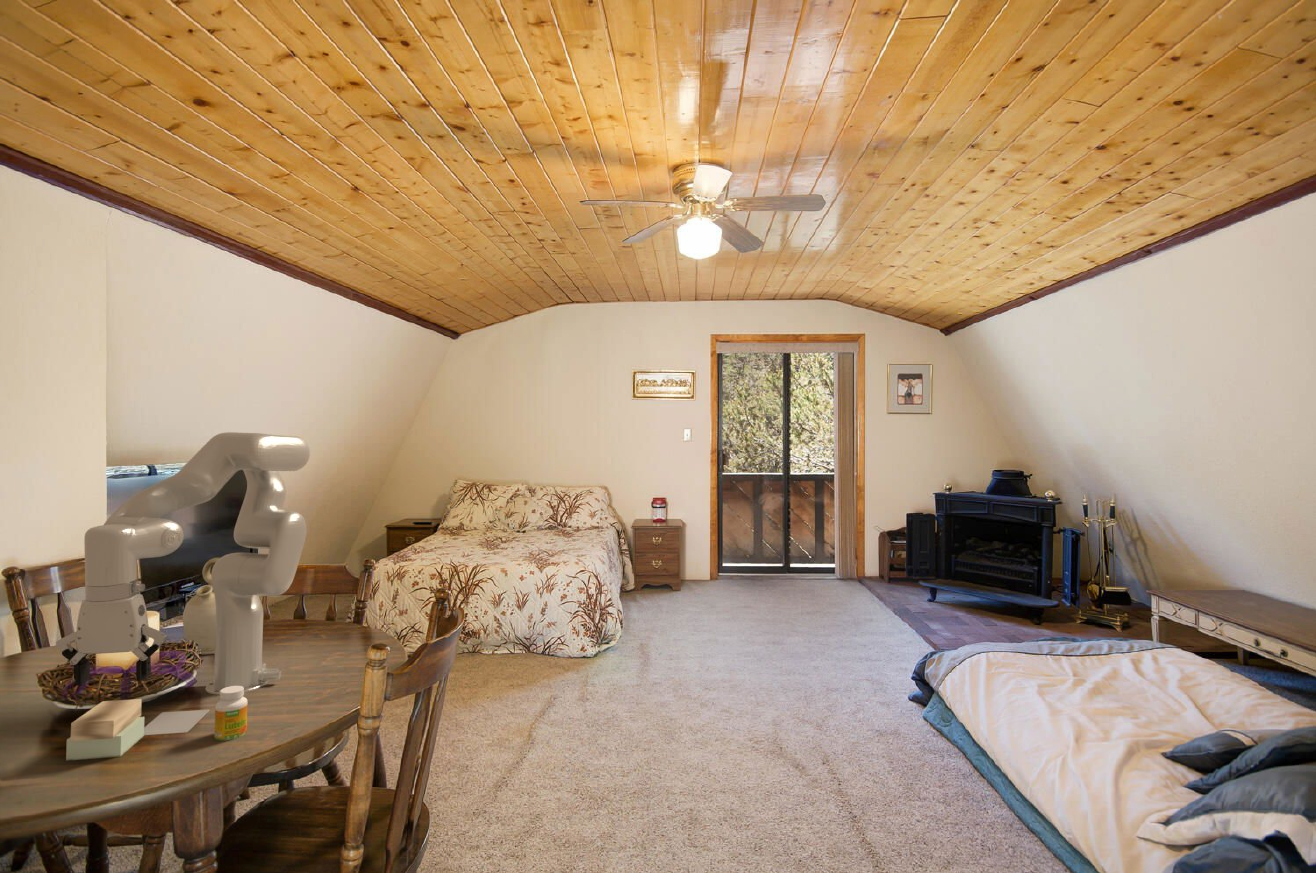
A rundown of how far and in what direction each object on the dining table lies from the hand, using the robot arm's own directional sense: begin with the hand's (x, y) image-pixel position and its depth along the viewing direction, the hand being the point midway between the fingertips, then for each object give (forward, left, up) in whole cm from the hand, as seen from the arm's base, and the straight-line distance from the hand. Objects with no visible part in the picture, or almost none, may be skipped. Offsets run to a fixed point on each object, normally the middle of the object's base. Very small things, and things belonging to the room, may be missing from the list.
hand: (113, 680), depth 126 cm
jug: (+4, -61, -13) cm, 63 cm away
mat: (-7, -9, -13) cm, 17 cm away
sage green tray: (0, +1, -13) cm, 13 cm away
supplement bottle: (-20, -1, -13) cm, 24 cm away
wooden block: (0, +1, -8) cm, 8 cm away
